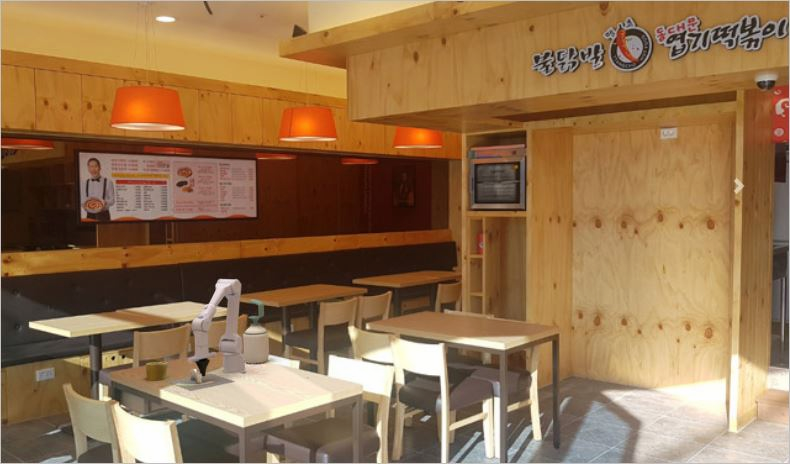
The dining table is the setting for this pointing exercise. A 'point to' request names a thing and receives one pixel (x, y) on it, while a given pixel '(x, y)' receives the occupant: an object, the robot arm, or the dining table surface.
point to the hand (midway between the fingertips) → (202, 376)
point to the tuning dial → (196, 375)
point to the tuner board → (207, 381)
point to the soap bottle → (256, 339)
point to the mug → (156, 371)
